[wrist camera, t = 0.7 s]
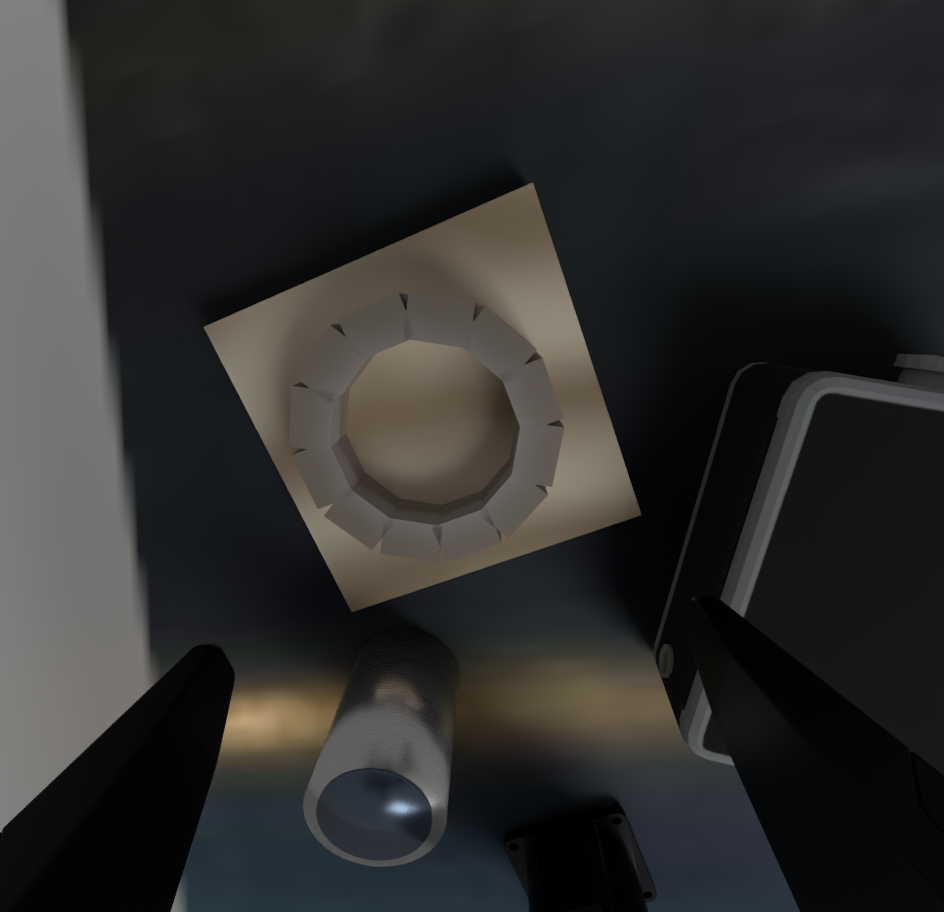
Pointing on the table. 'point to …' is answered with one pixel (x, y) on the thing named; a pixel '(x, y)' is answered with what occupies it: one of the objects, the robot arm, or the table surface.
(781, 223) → the table surface
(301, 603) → the table surface
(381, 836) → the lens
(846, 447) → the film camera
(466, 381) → the mount
